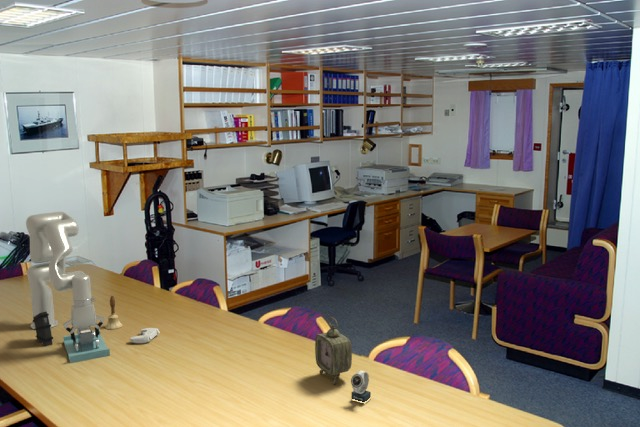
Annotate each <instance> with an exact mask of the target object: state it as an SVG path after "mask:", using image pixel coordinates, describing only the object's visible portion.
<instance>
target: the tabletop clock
mask: <svg viewBox="0 0 640 427" xmlns="http://www.w3.org/2000/svg"><path fill="white" fill-rule="evenodd" d="M330 320H333V321H334V322H335V323H336V327H335V324H331V322H330ZM327 322H328V325H329V327H330V328H329V329H328V330H327V331H326V332H324V333H319V334H318V333H317V334H315V335H316V336H315V339H314V340H315V341H314V342H315V344H314V350H315V352H314V354H315V363H316V365H317V366H318V368H319V369H320V370H319V374H320V375H322V374H324V373H325V374H326V375H329V376H333V377H334V380H332V384H333V385H336V384H337V383H338V381H337V377H338V376H339V377H340V376H341V374H342V373H347V372H349V371H350V369H351V368H352V364H353V363H352V362H353V361H352V360H353V359H352V357H353V351H352V350H353V348H352V342H351V339H350V338H348V337H347V336H345V335H344V334H343V333H340V332H339V329H338V328H339V323H338V320H337V319H336V318H334V317H329V318H328V320H327Z"/></svg>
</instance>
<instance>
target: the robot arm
mask: <svg viewBox="0 0 640 427" xmlns="http://www.w3.org/2000/svg"><path fill="white" fill-rule="evenodd" d="M25 226H26V229H27V233H28V234H29V256H30V260H31V262H32V263H34V264H33V265H31V266H30V267H29V268H28V269H27V271H26V277H27V279H28V280H27V281H28V285H29V288H30V289H29V290H30V300H31V308H32V309H31V310H32V319H33V317H35V316H36V315H38V314H39V313H42V312H46V311H47V314H49V315H48V318H49V323H50V324H51V327H50V328H54V327H56V326H58V325H59V320H58V319H55V310H54V302H53V301H54V300H53V299H54V298H53V297H54V296H53V290H52V289H51V287H50V286H49V285H48V284H47V283H49V282H51V284H52V286H53V288H54V290H56V291H58V292H64V291H69V290H72V300H73V302H72V303H73V305H71V312H70V319H69V320H67V321H65V322H64V323H63V324H62V326H63V328H64V329H65V330H66V331H67V332H69V333H70V335H71V340H73V342H75V334H76V332H75V331H76V330H77V329H78V328H84V327H90V328H91V327H94V331H95V336H96V337H97V338H98V335H99V330H100V328H101V326H102V325H103V324H104V321H105V317H104V316H100V315H97V314H96V310H95V305H94V304H95V303H94V302H95V301H96V298H95V297H92V288H91V287H92V286H91V277H90V275H89V274H86V273H85V272H84V271H82V270H75V271H69V272H66V258H67V257H68V256H70V255H71V253H72V252H73V247H72V244H71V241H70V238H71V237H76V236H78V233H79V226H78V224H77V222H76V220H75V219H74V218H72V216H71V215H69V214H67V213H66V212H64V211H55V212H46V213H37V214H31V215H29V216H28V217H27V218H26V221H25ZM33 320H34V319H33ZM33 320H32V321H33ZM97 320H99V322H98V323H97ZM70 324H71V328H70V327H69V325H70ZM30 329H31V330H35V323H34V322H32V323H30Z"/></svg>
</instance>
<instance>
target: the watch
mask: <svg viewBox="0 0 640 427" xmlns="http://www.w3.org/2000/svg"><path fill="white" fill-rule="evenodd" d="M369 382H370V375H369V373H368V372H367V371H365V370H362V369H361V370H358V371H357V372H355V374H353V375H352V377H351V379H350V383H351V388H352V390H353V391H351V400H352V399H355V400H358V401H362V402H365V401H367V400H368V399H369V398H370V397H371V391H369V390H367V389H368V386H369Z"/></svg>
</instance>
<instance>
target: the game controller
mask: <svg viewBox="0 0 640 427" xmlns="http://www.w3.org/2000/svg"><path fill="white" fill-rule="evenodd" d="M139 331H140V333H141V335H135V336H132V337H129V341H130V343H133V344H136V345H137V344H138V345H139V344H146V343H149V342H151V341H152V340H153V339H154V338H155V337H157V336H158V335H159V334H160V333H161V332H160V330H159V328H156V327H147V328H142V329H140V330H139Z"/></svg>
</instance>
